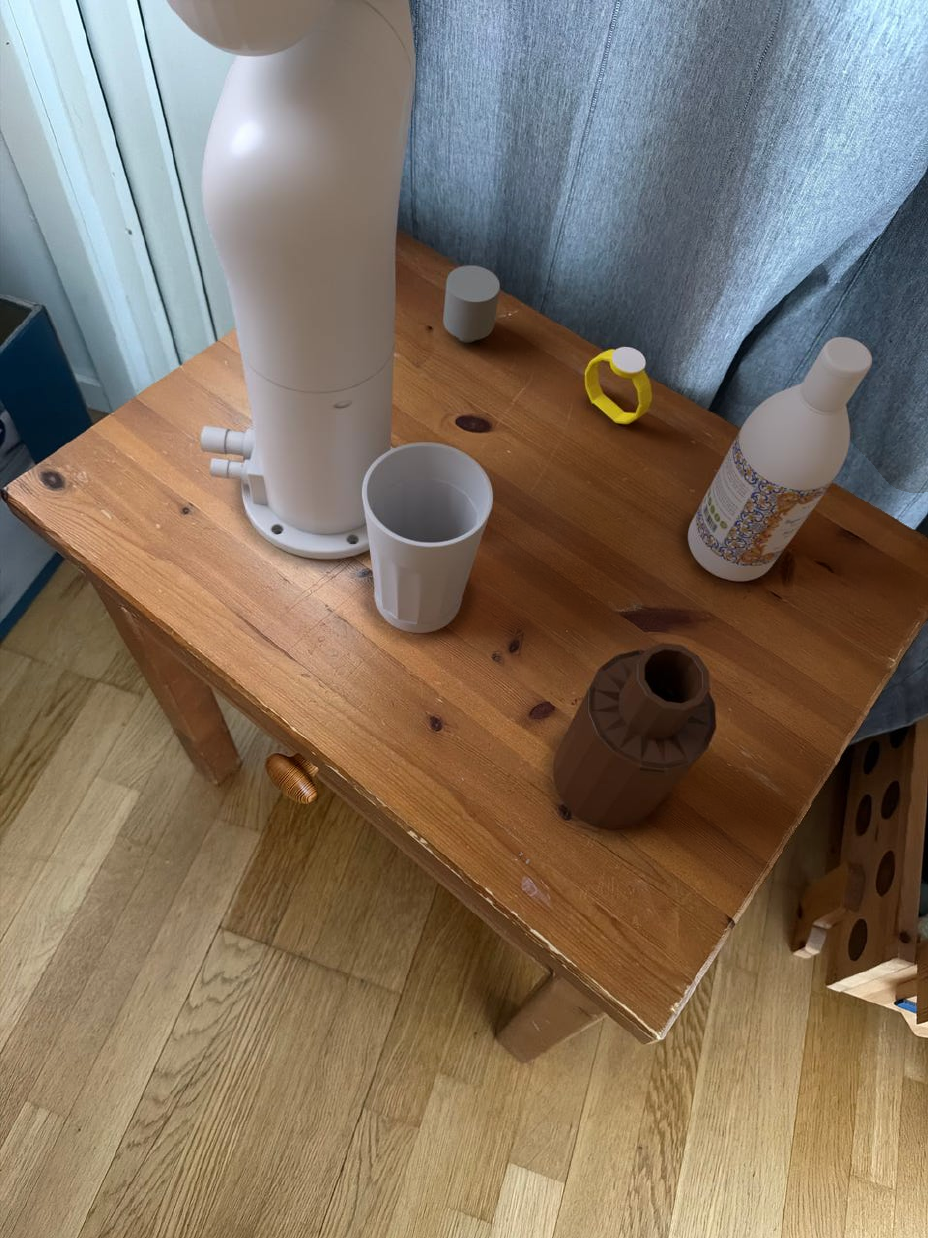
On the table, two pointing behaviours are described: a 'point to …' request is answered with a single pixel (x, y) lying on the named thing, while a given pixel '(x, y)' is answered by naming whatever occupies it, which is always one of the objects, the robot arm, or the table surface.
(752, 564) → the bath foam
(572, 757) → the bottle
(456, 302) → the bung
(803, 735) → the table surface
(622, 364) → the watch
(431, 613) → the cup
